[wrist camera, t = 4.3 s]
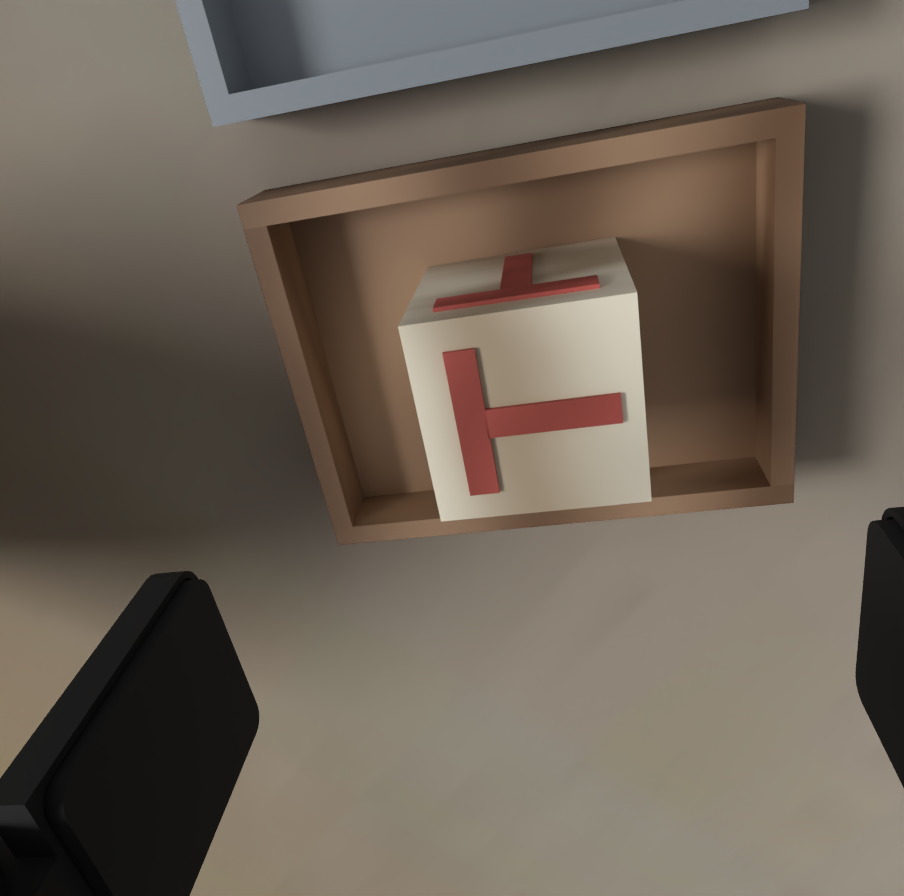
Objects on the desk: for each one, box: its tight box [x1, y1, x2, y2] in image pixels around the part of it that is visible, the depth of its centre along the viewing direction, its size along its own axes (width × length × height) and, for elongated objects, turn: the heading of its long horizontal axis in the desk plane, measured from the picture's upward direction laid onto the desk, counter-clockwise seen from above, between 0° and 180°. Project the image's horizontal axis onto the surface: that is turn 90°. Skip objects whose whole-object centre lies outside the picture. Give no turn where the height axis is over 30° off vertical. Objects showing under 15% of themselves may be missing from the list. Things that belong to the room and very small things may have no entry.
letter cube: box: [398, 237, 652, 522], centre depth 19 cm, size 5×5×5 cm
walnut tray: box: [237, 97, 806, 545], centre depth 21 cm, size 13×10×2 cm
